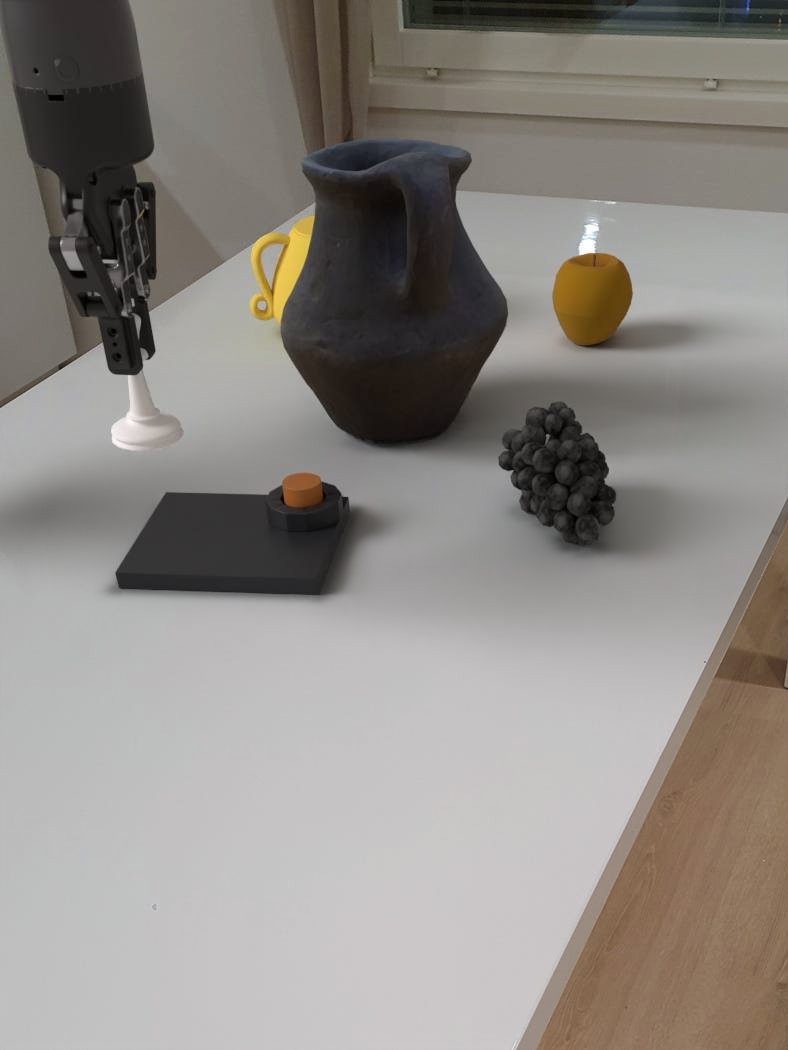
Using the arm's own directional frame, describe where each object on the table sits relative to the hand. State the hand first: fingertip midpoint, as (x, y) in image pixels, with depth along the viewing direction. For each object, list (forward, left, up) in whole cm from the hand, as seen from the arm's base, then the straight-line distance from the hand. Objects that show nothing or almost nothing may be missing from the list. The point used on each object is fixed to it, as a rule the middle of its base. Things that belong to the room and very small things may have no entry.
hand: (133, 364), depth 86 cm
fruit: (+28, +15, -19) cm, 37 cm away
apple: (+29, +57, -19) cm, 67 cm away
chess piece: (0, 0, -5) cm, 5 cm away
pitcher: (+12, +34, -19) cm, 41 cm away
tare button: (+7, +13, -16) cm, 22 cm away
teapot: (0, +62, -19) cm, 65 cm away
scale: (+2, +9, -19) cm, 21 cm away
